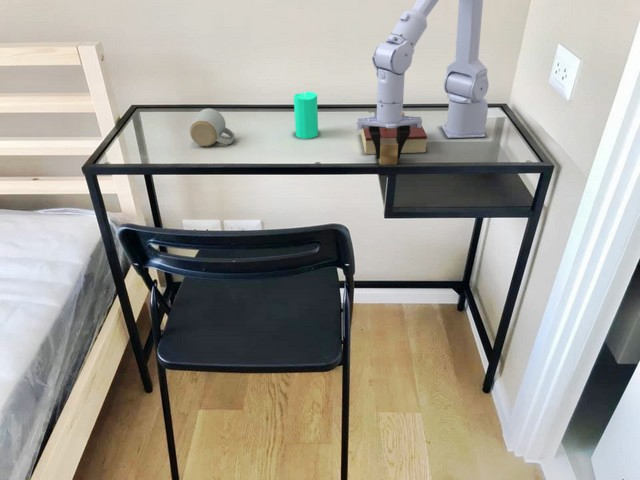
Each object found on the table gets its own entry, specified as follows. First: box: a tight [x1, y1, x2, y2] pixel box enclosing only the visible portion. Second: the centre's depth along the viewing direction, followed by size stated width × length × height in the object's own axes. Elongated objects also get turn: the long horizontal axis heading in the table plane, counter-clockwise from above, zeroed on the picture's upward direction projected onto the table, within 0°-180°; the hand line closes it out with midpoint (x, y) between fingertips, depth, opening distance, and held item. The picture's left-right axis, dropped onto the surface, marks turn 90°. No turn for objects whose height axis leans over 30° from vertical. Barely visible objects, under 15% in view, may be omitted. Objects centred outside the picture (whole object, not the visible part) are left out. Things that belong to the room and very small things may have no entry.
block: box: [377, 138, 398, 166], centre depth 124 cm, size 4×4×5 cm
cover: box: [363, 111, 428, 141], centre depth 130 cm, size 13×15×5 cm
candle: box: [293, 91, 319, 140], centre depth 137 cm, size 6×6×12 cm
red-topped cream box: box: [360, 129, 428, 155], centre depth 133 cm, size 12×15×4 cm
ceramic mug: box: [189, 108, 236, 147], centre depth 136 cm, size 11×8×8 cm
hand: (387, 157), depth 124 cm, fingers closed on block, 4 cm apart
